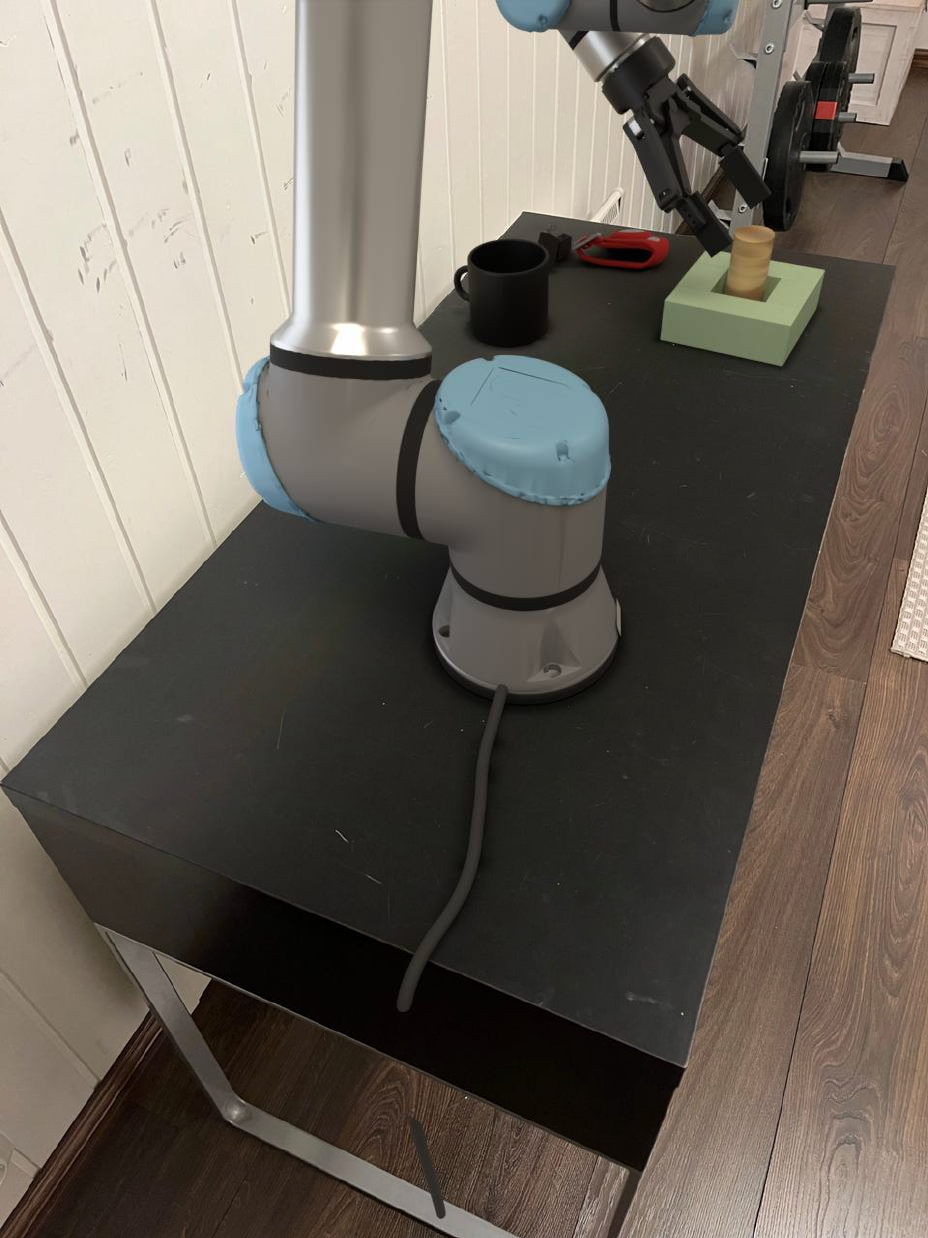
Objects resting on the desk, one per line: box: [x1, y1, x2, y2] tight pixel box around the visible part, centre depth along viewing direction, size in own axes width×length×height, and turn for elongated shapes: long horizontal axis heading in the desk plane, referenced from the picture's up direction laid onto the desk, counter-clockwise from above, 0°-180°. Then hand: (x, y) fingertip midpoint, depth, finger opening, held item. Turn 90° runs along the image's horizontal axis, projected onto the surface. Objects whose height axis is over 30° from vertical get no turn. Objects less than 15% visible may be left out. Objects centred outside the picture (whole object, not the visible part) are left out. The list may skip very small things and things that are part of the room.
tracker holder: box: [571, 228, 670, 270], centre depth 124 cm, size 12×4×10 cm
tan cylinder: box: [725, 224, 776, 302], centre depth 108 cm, size 4×4×11 cm
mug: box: [453, 238, 550, 347], centre depth 112 cm, size 9×12×9 cm
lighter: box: [537, 223, 573, 271], centre depth 124 cm, size 8×2×5 cm
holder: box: [660, 250, 826, 367], centre depth 111 cm, size 14×14×5 cm
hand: (742, 224), depth 104 cm, fingers open, 13 cm apart
